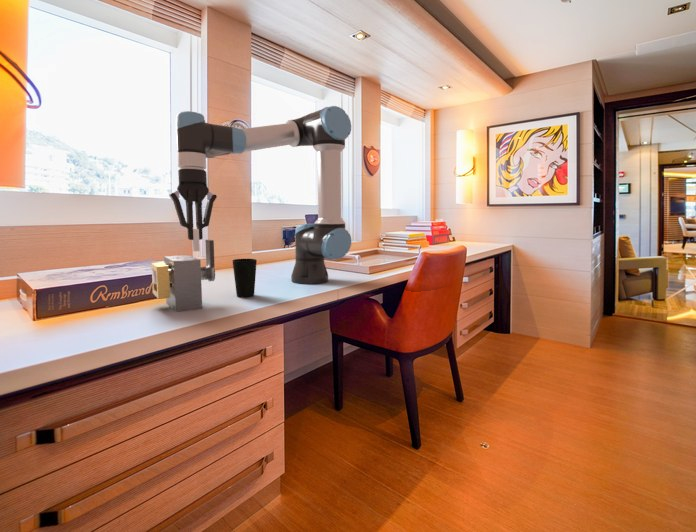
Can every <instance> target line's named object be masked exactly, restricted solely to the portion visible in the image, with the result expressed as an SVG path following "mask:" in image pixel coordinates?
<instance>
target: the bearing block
mask: <svg viewBox="0 0 696 532" xmlns="http://www.w3.org/2000/svg"><path fill="white" fill-rule="evenodd" d="M163 263H165V264H166V265H168V266H169V269H171V276H172V283H170V298H165V299H166V301H165V302H166V303H167V304H168V305H169V306H170V307H171V308H172V310H174V311H175V313H177V312H183V311H191V310H193V311H194V310H198V309H203V292H202V290H203V289H202V280H201V267H202V266H201V259H199V258H196V257H194V256H192V255H189V254H188V255H187V254H183V255H164V256H163Z"/></svg>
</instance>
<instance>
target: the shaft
mask: <svg viewBox="0 0 696 532" xmlns="http://www.w3.org/2000/svg"><path fill="white" fill-rule="evenodd" d="M214 241H215V240H213V239H205V241H204V242H205V261H206V262H205V265H206V266H201V281H208V282H214V281H215V279H216V270H215V246H214V245H215V243H214ZM169 281H170V283H172V276H171V269H169ZM153 282H154V284H157V280H156V271H155V270H153ZM153 282H152V283H153Z"/></svg>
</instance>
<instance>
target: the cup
mask: <svg viewBox="0 0 696 532" xmlns="http://www.w3.org/2000/svg"><path fill="white" fill-rule="evenodd" d="M257 263H258V262H257V259H256V258H236V259H232V268H233V276H234V277H233V278H234V284H235V292H236V297H237V298H241V299H244V298H245V299H246V298H253V297H255V290H256V289H255V288H256V276H257V275H256V273H257Z"/></svg>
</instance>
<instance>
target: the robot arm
mask: <svg viewBox="0 0 696 532" xmlns="http://www.w3.org/2000/svg"><path fill="white" fill-rule="evenodd" d="M351 132H352V121H351V118H350V117H349V115H348V114H347V112H346V111H345V110H344V109H343V108H342V107H340V106H337V105H332V106H325V107H323V108H321V109H319V110H316V111H314V112H310V113H309V114H306V115H304V116H301V117H298V118H295V119H288V120H287V121H286V123H280V124H279V123H278V124H272V125H271V124H270V125H262V126H255V127H247V128H238V127H235V126H227V125H219V124H214V123H209V122H206V120H205V116H204V114H202V113H200V112H196V111H189V110H188V111H187V110H184V111H179V112H178V113H177V114H176V117H175V133H176V146H177V147H176V148H177V167H178V168H179V169H178V172H177V173H178V186H177V187H176V188H177V189H176V190H175V191H173V192H171V193H169V194H168V196H169V198H170V199H171V201H172V202H173V205H174V207H175V211H176V215H177V218H178V221H179V224H180V226H181V227H183V228H186V229H187V239H188V240H189V241H191V250H192V252H201V250H200V248H201V247H200V240H203V238H204V237H203V229H204V228H206V227H209V226H210V220H211V216H212V211H213V208H214V207H213V206H214V202H215V201H216V200H217V196H218V195H216V194H214V193H212V192H211V191H210V189H209V188H208V183H207V180H208V179H207V177H208V175H207V171H206V169H207V160H206V159H213V158H216V157H221V156H226V155H227V156H228V155H234V154H240V155H241V154H243V153H246V152H250V151H251V152H252V151H257V150H258V151H259V150H264V149H270V148H277V147H283V146H290V147H292V148H295V147H305V146H307V147H309V146H312V148H313V149H314V150H315V151H316V154H317V219H316V220H315V221H314V223H304V224H298V225H297V226H296V227H295V232H294V237H295V239H294V240H295V241H294V242H295V246H294V247H295V248H294V249H295V264H294V266H293V270H292V273H291V278H290V279H291V282H292V283H294V284H305V285H306V284H307V285H309V284H310V285H311V284H312V285H315V284H317V285H318V284H324V283H327V282H329V273H328V270H327V267H326V263H325V259H326V260H339V259H342V258H344V257H345V256H346V255H347V254H348V253H349V251H350V249H351V246H352V237H351V234H350V233H349V231H348V230H347V229H346V222H345V221H344V220H343V219H342V151H344V150H345V149H346V139H347V138H349V136H350V135H351ZM180 197H181V198H183V200H184V202H185V207H186V218H185V214H184V211H183V208H182V204H181V201H180ZM205 198H206V199H207V201H206V205H205V211H204V216H203V207H202V206H203V200H204V199H205ZM193 205H194V206H195V207H194V208H195V209H194V210H195V227H196V228H194V210H193Z"/></svg>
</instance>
